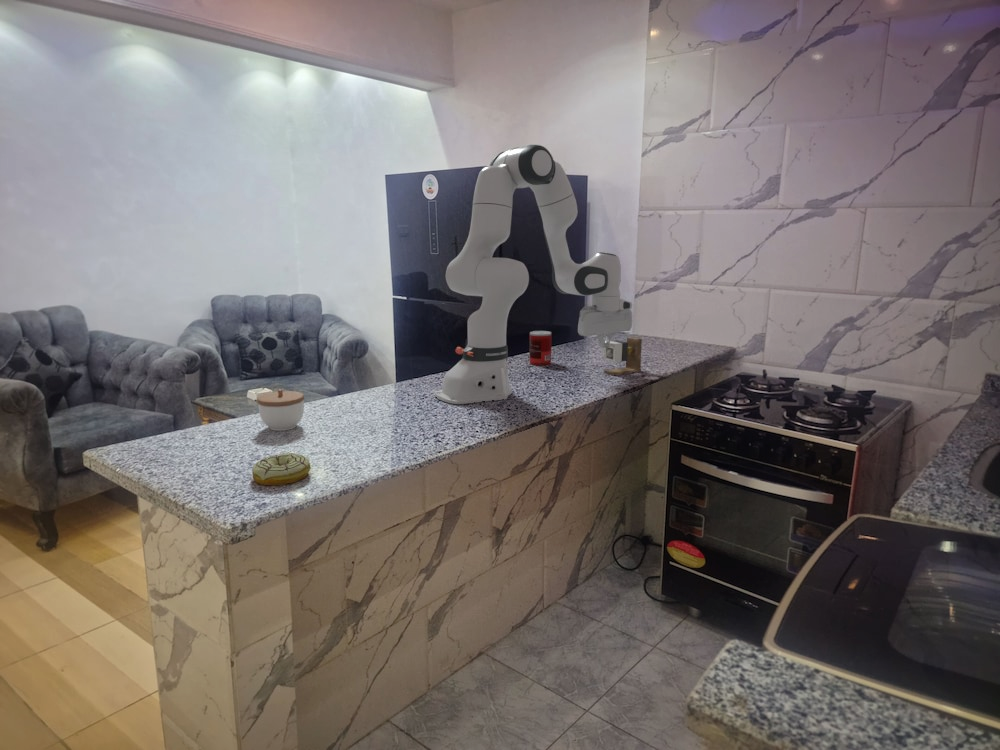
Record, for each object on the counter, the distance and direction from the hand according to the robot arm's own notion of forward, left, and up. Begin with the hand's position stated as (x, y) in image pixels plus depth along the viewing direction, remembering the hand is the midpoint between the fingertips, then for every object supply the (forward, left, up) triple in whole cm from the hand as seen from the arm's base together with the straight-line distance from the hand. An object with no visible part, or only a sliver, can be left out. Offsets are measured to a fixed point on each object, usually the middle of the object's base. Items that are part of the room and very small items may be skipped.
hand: (604, 347), depth 213 cm
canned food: (-6, +27, -10) cm, 29 cm away
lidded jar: (-103, 0, -10) cm, 103 cm away
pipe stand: (+8, 0, -9) cm, 12 cm away
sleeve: (+4, 0, -5) cm, 6 cm away
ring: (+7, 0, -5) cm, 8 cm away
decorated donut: (-112, -33, -10) cm, 117 cm away
